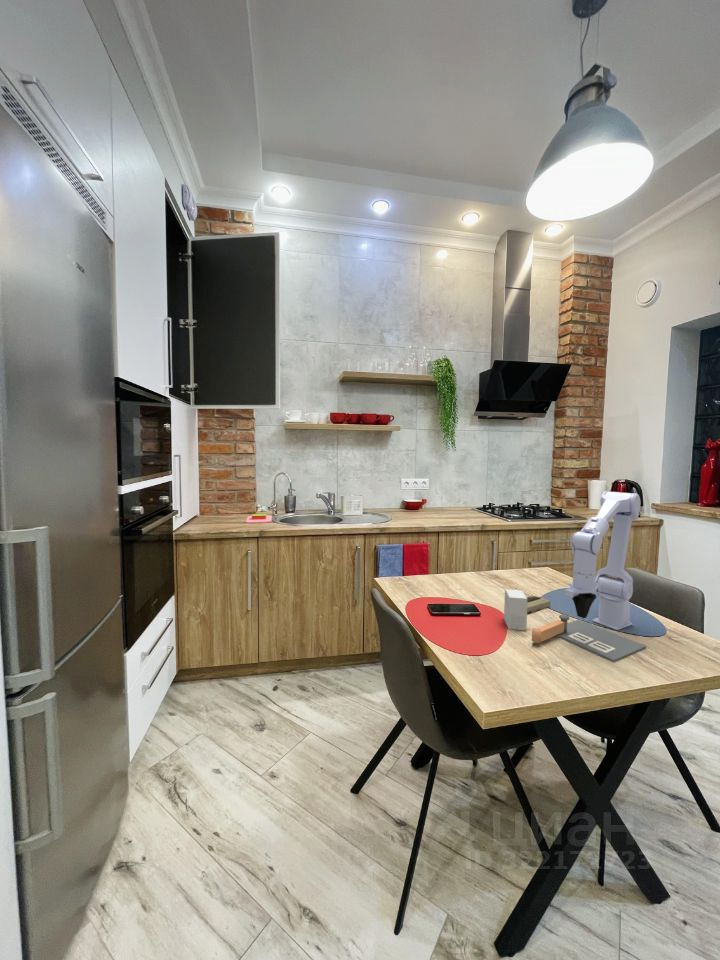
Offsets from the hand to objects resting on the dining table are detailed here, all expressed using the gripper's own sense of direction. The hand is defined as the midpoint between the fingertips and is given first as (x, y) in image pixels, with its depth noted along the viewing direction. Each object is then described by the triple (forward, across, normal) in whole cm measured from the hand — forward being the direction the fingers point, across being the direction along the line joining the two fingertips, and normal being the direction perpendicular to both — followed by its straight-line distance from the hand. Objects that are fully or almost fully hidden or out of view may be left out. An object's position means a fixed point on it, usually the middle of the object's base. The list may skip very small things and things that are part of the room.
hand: (581, 616), depth 114 cm
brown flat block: (+8, -7, -24) cm, 27 cm away
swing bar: (+6, +9, -5) cm, 12 cm away
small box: (+8, +9, -16) cm, 20 cm away
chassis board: (+7, -4, +2) cm, 9 cm away
